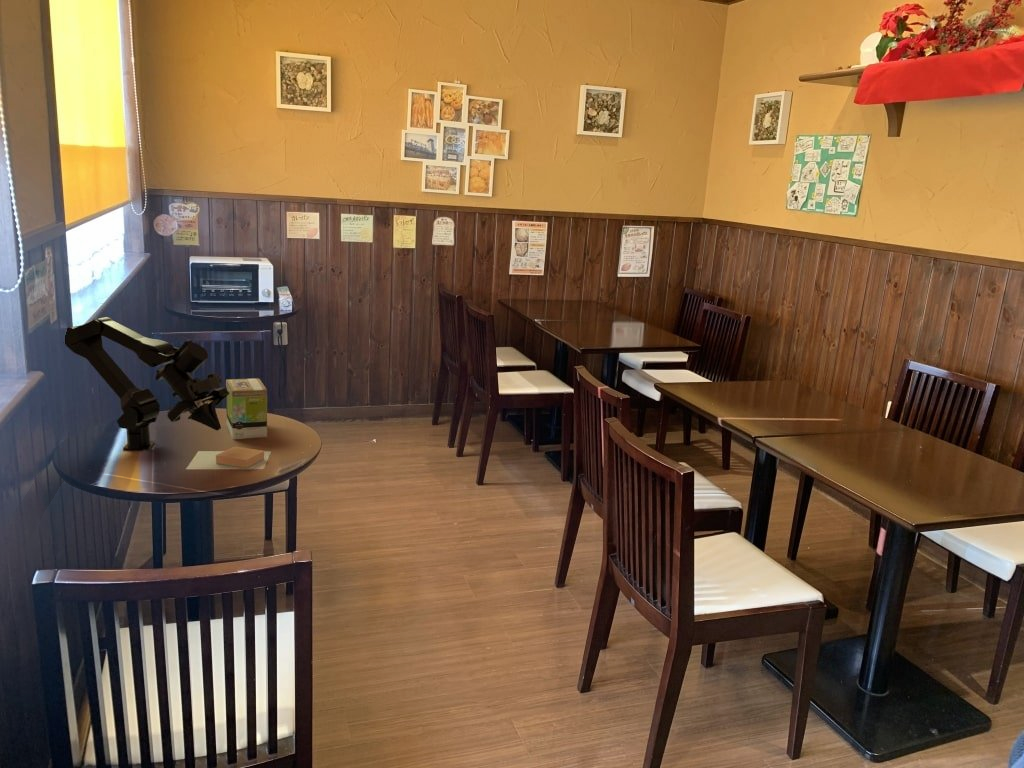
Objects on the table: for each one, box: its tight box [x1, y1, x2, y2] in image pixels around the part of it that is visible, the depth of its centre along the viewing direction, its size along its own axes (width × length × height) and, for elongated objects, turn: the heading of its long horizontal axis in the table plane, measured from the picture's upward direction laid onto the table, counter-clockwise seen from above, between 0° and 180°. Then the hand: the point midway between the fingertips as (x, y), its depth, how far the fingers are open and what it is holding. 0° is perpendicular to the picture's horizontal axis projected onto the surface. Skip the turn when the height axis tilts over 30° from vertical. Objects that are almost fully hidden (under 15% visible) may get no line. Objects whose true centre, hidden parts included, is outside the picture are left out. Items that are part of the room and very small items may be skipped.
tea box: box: [225, 377, 268, 440], centre depth 227 cm, size 15×10×15 cm
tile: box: [216, 446, 265, 470], centre depth 203 cm, size 2×8×9 cm
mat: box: [185, 450, 272, 470], centre depth 204 cm, size 14×19×1 cm
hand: (219, 429), depth 203 cm, fingers closed
